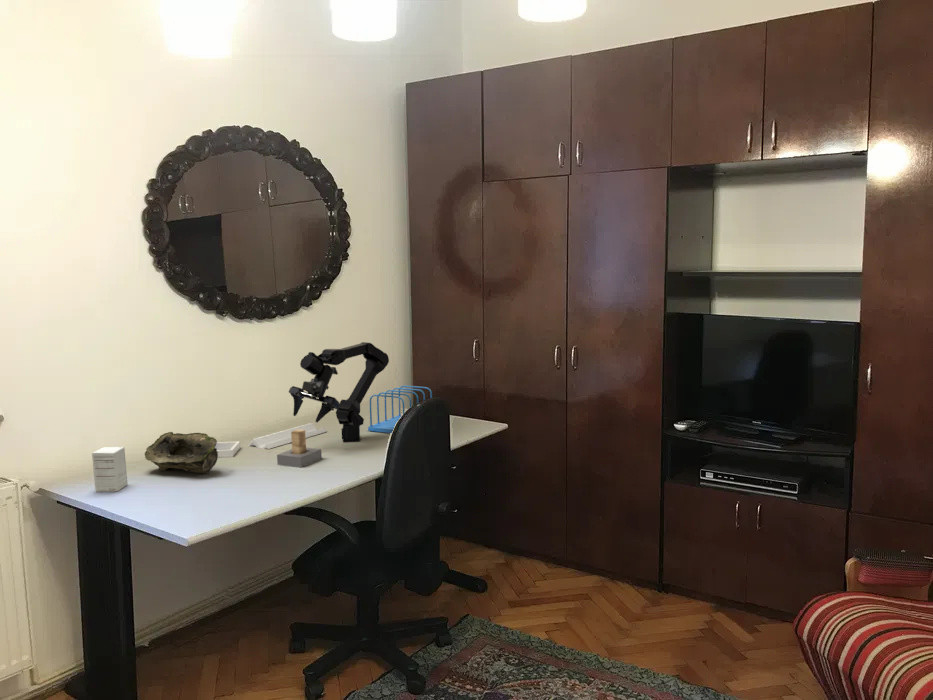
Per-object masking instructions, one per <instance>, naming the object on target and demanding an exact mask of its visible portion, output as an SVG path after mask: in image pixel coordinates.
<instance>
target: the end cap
mask: <svg viewBox="0 0 933 700" xmlns="http://www.w3.org/2000/svg"><path fill="white" fill-rule="evenodd" d="M322 455H323V454H322V448H314V447H306V452H305V453H302V454H292V448H291V449H289V450H285V451H283V452H281V453H278V454H276V460H277V461H276V462H277V465H278V466H287V467H296V468H303V467H305V466H308V465H310V464H312V463H314V462H317V461H320V460H322V458H323V457H322Z"/></svg>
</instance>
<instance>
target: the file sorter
mask: <svg viewBox="0 0 933 700" xmlns="http://www.w3.org/2000/svg"><path fill="white" fill-rule="evenodd" d="M422 389H426V390H428V391H429V395H430V398H432V399H433V392H432V389H431V388H429V387H426V386H418V385H417V386H416V385H401V386H399V387H395V388H393V389H389V390H387V391H385V392H379V393H378V394H372V395H371V396H370V397H369V423H370V426H368V427H367V431H369V432H377V433H386V434H387V433H389V434H393V433H392V431H393V429H394V426H395V424H396V422H397V421H398V420H399V418H400V417H401V415H403V414H405V401H404V399H403V398H402V397H401V396H406V397H407V398H408V399H409V400H408V401H409V408H410V407H411V408H412V399H411V396H410V395H408V394H414V395H415V397H416V404H417V403H419V396H418V394H417V393H416V392H417V391H418V392H421V393H422V395H423V397H422V398H423V401H424V400H425V401H426V394H425V392H424V391H423V390H422ZM415 391H416V392H415ZM407 393H408V394H407ZM373 397H376V410H377V413H376V414H377V423H375V424H373V418H372V398H373ZM379 397H383V398H384V420H383V421H380V405H379V404H380V403H379V401H380V400H379ZM387 398H391V418H388V419H387ZM396 398H397V399H398V415H395V416H394V414H395V413H394V399H396ZM401 402H402V414H401Z"/></svg>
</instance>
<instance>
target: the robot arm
mask: <svg viewBox="0 0 933 700" xmlns="http://www.w3.org/2000/svg"><path fill="white" fill-rule="evenodd" d="M358 356H363V358H364V359H365V369H364V371H363V372H362V375H361V377H360V378H359V380H357V381H358V382H357V383H356V385H355V387H354V388H353V390H352V392H351V394H350V396H349V397H348V398H347V399H341V400H338V399H337V398H336V397H334V396H330V395H326V396H325V394H326V391H327V390H329V384H330V381H331V379H332V377H333V375H338V374H339V372H338V370H337V368H336V367H334V366H338V365H340V364H342V363H344V362H345V361H346V360H348V359H350V358H354V357H358ZM389 363H390V358H389V355H388V354H387V353H386V352H384V351H383V350H381V348H378V347H376V346H375V345H374V344H373V343H371V342H368V341H367V342H366V341H364V342H363V341H362V342H360V343H357V344H354V345H350V346H346V347H342V348H325V349H323V350H322V351H321V353H319V354H318V355H317V354H316V353H315V352H311V351H309V352H308V353H307V354H306V355H305V356H304V357H302V358H301V360H300V368H301V369H303V370H305V371H306V372H308V374H311V375H312V376H314V377H313V378H311V379H310V381H306V380H305V381H304V380H303V382H302V387H297V386H294V385H292V386H291V387H290V388H289V390H288V393H289V394H290V396H291V397H292V398H293V415H292V416H294V417H296V416H297V415H298V413H299V411H300V409H301V407H302V405H303V402H304V400H303V399H309V400H313V401H315V402H316V401H317V402H320V403H321V407H320V409H319V411H318V414H317V416H316V419H315V420H314V422H315V423H319V422H320V421H321V420H322V419H323V418H324V417H325V416H326V415H327V414H329V413H330V412H331V411H334V410H335V414H336V419H337V421H338V423H339V425H342V428H341V439H342V443H348V442H349V443H350V442H360V441H361V439H362V437H361V428H360V427H361V426H362V425H364V421H365V419H364V417H362V415H361V414H360V413H361V404H362V401H363V400H364V398H365V396H366V394H367V393H368V391H369V389H370V387H371V385H372V384H373V382H374V380H375V378H376V377H377V375H378V374H379V373H381V372H382V371H384V370H385V369H386V367H387V366H388V365H389ZM330 365H331V366H330Z"/></svg>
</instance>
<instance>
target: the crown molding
mask: <svg viewBox="0 0 933 700" xmlns="http://www.w3.org/2000/svg"><path fill="white" fill-rule="evenodd" d="M298 429H299V430H305V436H306V439H307V438H310V437H313V436H318V435H321V434H324V433H327V432H328V431H327V430H326V428H325V427H322V428H319V429H317V427H316V426H315V425H314V423H313V422H310V423H309V422H308V423H306V424H302V425H299V426H295V427H292V428H287V429H283V430H281V431H277V432H274V433H269V434H267V435H263V436H260V437H259V436H258V437H255V438H252V439H251V441H250V442H249V443H248V444H247V446H248V447H253V446H254V447H256V448H257V449H258V448H259V449H264V450H265V449H267V450H270V449H274V448H278V447H281V446H284V445H287V444H290V443H291V444H292V438H291V432H292V431H295V430H298Z"/></svg>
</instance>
